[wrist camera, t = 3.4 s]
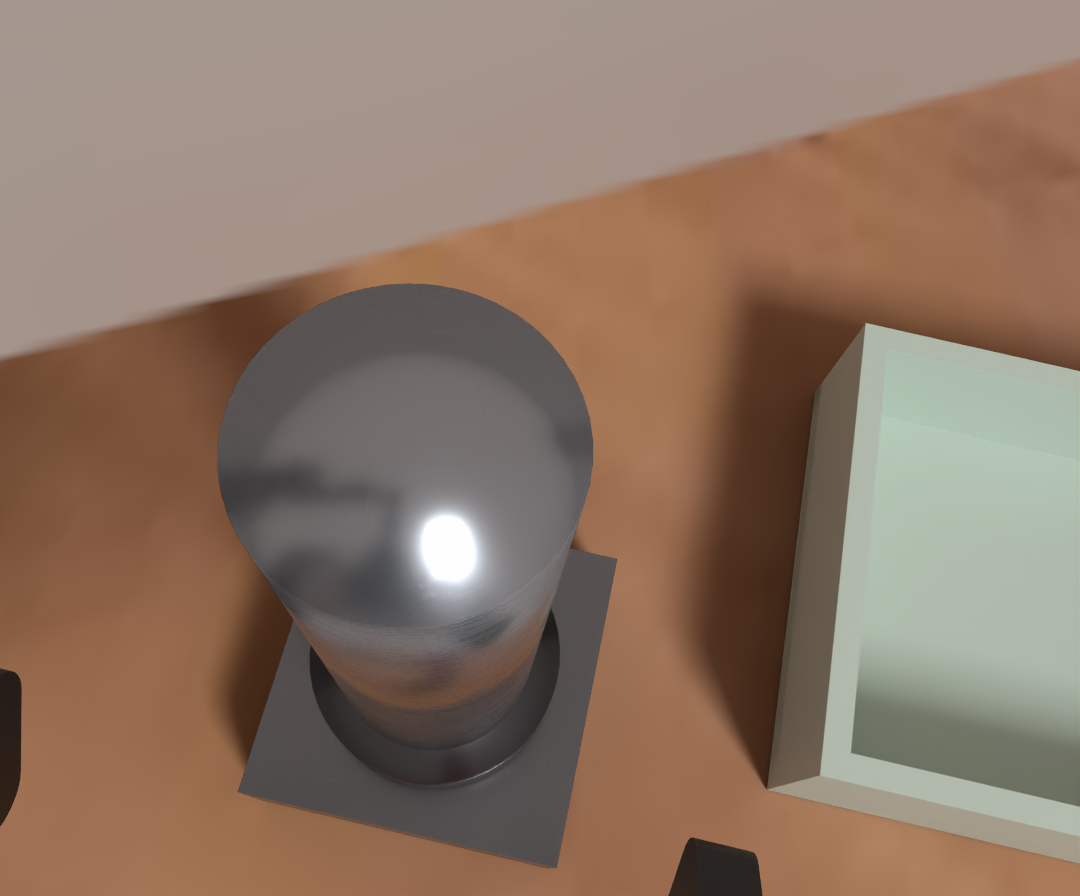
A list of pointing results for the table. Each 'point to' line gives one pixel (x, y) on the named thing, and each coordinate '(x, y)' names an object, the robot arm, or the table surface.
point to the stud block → (455, 813)
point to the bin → (938, 595)
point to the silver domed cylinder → (414, 518)
